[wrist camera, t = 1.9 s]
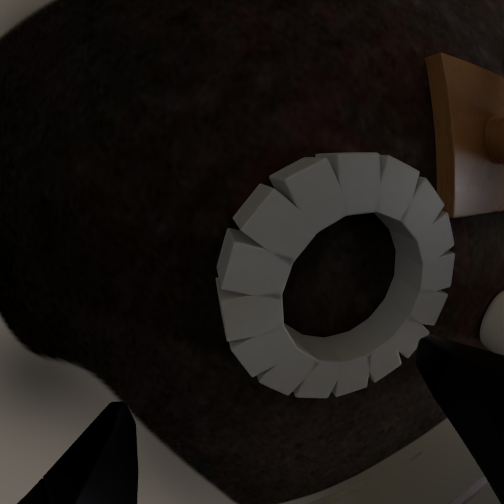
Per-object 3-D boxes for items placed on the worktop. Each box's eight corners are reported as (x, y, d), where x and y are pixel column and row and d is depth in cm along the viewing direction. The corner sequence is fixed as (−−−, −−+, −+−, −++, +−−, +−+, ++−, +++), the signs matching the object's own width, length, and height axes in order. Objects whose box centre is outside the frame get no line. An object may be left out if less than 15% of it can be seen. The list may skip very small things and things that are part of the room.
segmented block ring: (428, 152, 14) (458, 154, 12) (413, 341, 17) (434, 360, 15) (200, 164, 12) (201, 165, 10) (234, 389, 16) (241, 419, 14)
